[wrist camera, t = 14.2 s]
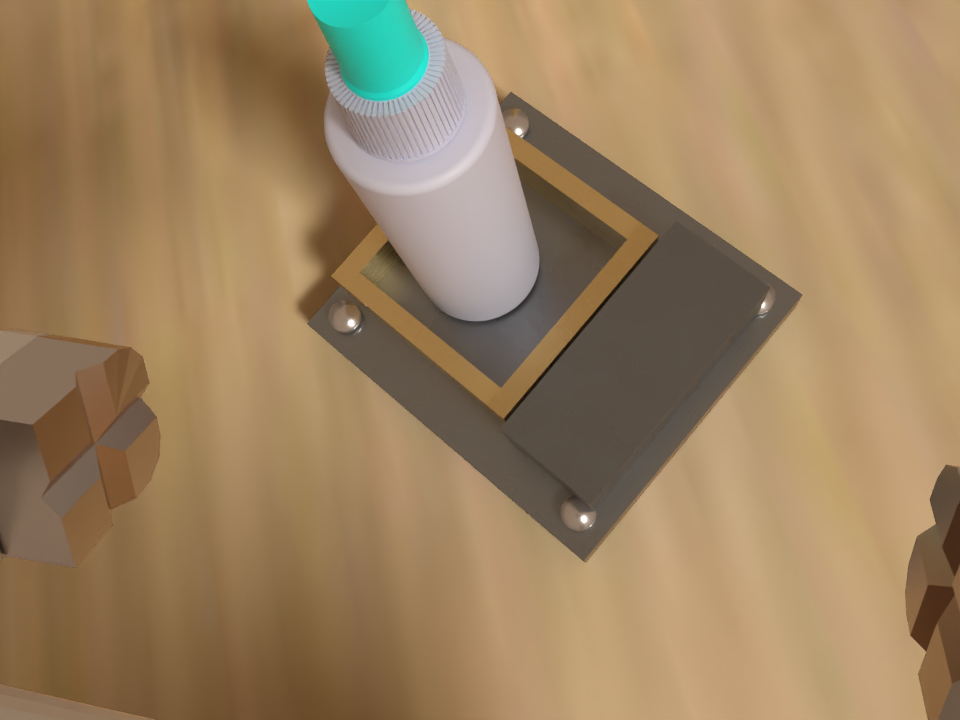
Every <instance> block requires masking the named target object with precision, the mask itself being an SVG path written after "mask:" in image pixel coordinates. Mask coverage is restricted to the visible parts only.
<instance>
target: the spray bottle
mask: <svg viewBox="0 0 960 720" xmlns="http://www.w3.org/2000/svg"><path fill="white" fill-rule="evenodd" d="M307 1H308V4H309V7H310V9H311V11H312V13H313V15H314V17H315V19H316V21H317V23H318V25H319V27H320V29H321V30H322V32H323V34H324V36H325V38H326V40H327V42H328V44H329V46H330V47H329V48H330V50H328V52H327V53H328V55H329V56H326V60H327V61H325V65H326V67H325V71H326V73H325V76H326V81H327V83H328V84H327V85H328V87H329V89H330V93H329V96H328V99H327V102H326V106H325V112H324V135H325V139H326V144H327V147H328V149H329V152H330V154H331V156H332V158H333V160H334V162H335V163H336V165H337V166H338V168H339V169H340V171H341V172H342V174H343V175H344V176H345V178H346V179H347V181H348V182H349V184H350V185H351V187H352V188H353V189H354V191H355V192H356V194H357V195H358V197H359V198H360V200H361V201H362V203H363V204H364V205H365V207H366V208H367V210H368V211H369V213H370V214H371V216H372V217H373V218H374V220H375V221H376V223H377V224H378V226H379V227H380V229H381V230H382V231H383V233H384V234H385V236H386V237H387V239H388V240H389V242H390V243H391V245H392V246H393V247H394V249H395V250H396V252H397V253H398V255H399V256H400V258H401V259H402V260H403V262H404V263H405V265H406V266H407V268H408V269H409V271H410V272H411V273H412V275H413V276H414V278H415V279H416V281H417V282H418V284H419V285H420V286H421V288H422V289H423V291H424V292H425V294H426V295H427V297H428V298H429V299H430V301H431V302H432V303H433V304H434V305H435V306H436V307H438V308H439V309H440V310H441V311H443V312H445V313H446V314H448V315H450V316H452V317H455V318H458V319H461V320H466V321H486V320H491V319H494V318H497V317H500V316H502V315H504V314H506V313H508V312H510V311H511V310H513V309H514V308H515V307H517V306H518V305H519V304H520V303H521V302H522V301H523V300H524V299H525V298H526V297H527V295H528V294H529V292H530V291H531V289H532V288H533V285H534V283H535V281H536V278H537V275H538V270H539V249H538V245H537V241H536V237H535V234H534V230H533V226H532V222H531V219H530V215H529V211H528V208H527V204H526V200H525V197H524V193H523V189H522V186H521V182H520V178H519V175H518V171H517V167H516V164H515V160H514V156H513V153H512V149H511V145H510V142H509V138H508V134H507V130H506V127H505V123H504V119H503V116H502V112H501V108H500V105H499V101H498V97H497V94H496V90H495V87H494V84H493V81H492V79H491V77H490V75H489V73H488V71H487V69H486V68H485V66H484V65H483V64H482V62H481V61H480V60H479V59H478V58H477V57H476V56H475V55H474V54H473V53H472V52H471V51H469V50H468V49H467V48H465V47H464V46H462V45H460V44H459V43H457V42H455V41H452V40H450V39H447V38H444V37H442V35H441V33H440V31H439V30H438V28H437V26H436V25H435V24H434V23H433V22H432V21H431V20H430V19H429V18H426V16H425V15H424V14H423V15H421V13H420V12H417V13H416V11H415V10H413V9H412V11H411V10H410V8H409V7H408V5H407V3H406V0H307Z"/></svg>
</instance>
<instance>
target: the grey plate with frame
mask: <svg viewBox="0 0 960 720" xmlns="http://www.w3.org/2000/svg"><path fill="white" fill-rule="evenodd" d="M500 108H501V112H502V116H503V119H504V123H505V127H506V130H507V134H508V138H509V142H510V145H511V149H512V153H513V156H514V160H515V164H516V167H517V171H518V175H519V178H520V182H521V186H522V189H523V193H524V197H525V200H526V204H527V208H528V211H529V215H530V219H531V222H532V226H533V230H534V234H535V237H536V241H537V245H538V249H539V270H538V275H537V278H536V281H535V283H534V285H533V288H532V289H531V291H530V292H529V294H528V295H527V297H526V298H525V299H524V300H523V301H522V302H521V303H520V304H519V305H518V306H517V307H515V308H514V309H513V310H511V311H510V312H508V313H506V314H504V315H502V316H500V317H497V318H494V319H491V320H486V321H466V320H461V319H458V318H455V317H452V316H450V315H448V314H446V313H445V312H443V311H441V310H440V309H439V308H438V307H436V306H435V305H434V304H433V303H432V302H431V301H430V299H429V298H428V297H427V295H426V294H425V292H424V291H423V289H422V288H421V286H420V285H419V284H418V282H417V281H416V279H415V278H414V276H413V275H412V273H411V272H410V271H409V269H408V268H407V266H406V265H405V263H404V262H403V260H402V259H401V258H400V256H399V255H398V253H397V252H396V250H395V249H394V247H393V246H392V245H391V243H390V242H389V240H388V239H387V237H386V236H385V234H384V233H383V231H382V230H381V229H380V227H379V226H378V224H376V226H375V227H374V228H373V229H372V230H371V231H370V232H369V233H368V235H367V236H366V237H365V238H364V239H363V240H362V241H361V243H360V244H359V245H358V246H357V247H356V248H355V249H354V250H353V252H352V253H351V254H350V255H349V256H348V257H347V258H346V260H345V261H344V262H343V263H342V264H341V265H340V266H339V267H338V269H337V270H336V271H335V272H334V273H333V274H332V275H331V277H332V278H333V279H334V280H335V281H336V282H337V283H338V284H339V285H340V287H339V288H338V289H337V290H336V291H335V292H334V293H333V295H332V296H331V297H330V298H329V299H328V300H327V301H326V302H325V304H324V305H323V306H322V307H321V308H320V309H319V310H318V312H317V313H316V314H315V315H314V316H313V317H312V318H311V319H310V321H309V322H308V323H307V324H308V325H309V326H310V327H311V328H312V329H314V330H315V331H316V332H317V333H318V334H319V335H321V336H322V337H323V338H324V339H325V340H326V341H328V342H329V343H330V344H331V345H332V346H333V347H335V348H336V349H337V350H338V351H339V352H340V353H342V354H343V355H344V356H345V357H346V358H347V359H349V360H350V361H351V362H352V363H353V364H354V365H356V366H357V367H358V368H359V369H360V370H361V371H363V372H364V373H365V374H366V375H367V376H368V377H370V378H371V379H372V380H373V381H374V382H375V383H377V384H378V385H379V386H380V387H381V388H382V389H384V390H385V391H386V392H387V393H388V394H389V395H391V396H392V397H393V398H394V399H395V400H396V401H397V402H399V403H400V404H401V405H402V406H403V407H404V408H406V409H407V410H408V411H409V412H410V413H411V414H413V415H414V416H415V417H416V418H417V419H418V420H420V421H421V422H422V423H423V424H424V425H425V426H427V427H428V428H429V429H430V430H431V431H432V432H434V433H435V434H436V435H437V436H438V437H439V438H441V439H442V440H443V441H444V442H445V443H446V444H448V445H449V446H450V447H451V448H452V449H453V450H455V451H456V452H457V453H458V454H459V455H460V456H462V457H463V458H464V459H465V460H466V461H467V462H469V463H470V464H471V465H472V466H473V467H474V468H476V469H477V470H478V471H479V472H480V473H481V474H483V475H484V476H485V477H486V478H487V479H488V480H490V481H491V482H492V483H493V484H494V485H495V486H497V487H498V488H499V489H500V490H501V491H502V492H504V493H505V494H506V495H507V496H508V497H509V498H510V499H512V500H513V501H514V502H515V503H516V504H517V505H519V506H520V507H521V508H522V509H523V510H524V511H526V512H527V513H528V514H529V515H530V516H531V517H533V518H534V519H535V520H536V521H537V522H538V523H540V524H541V525H542V526H543V527H544V528H545V529H547V530H548V531H549V532H550V533H551V534H552V535H554V536H555V537H556V538H557V539H558V540H559V541H561V542H562V543H563V544H564V545H565V546H566V547H568V548H569V549H570V550H571V551H572V552H573V553H575V554H576V555H577V556H578V557H579V558H580V559H582V560H583V561H584V562H585V563H586V562H587V560H588V559H589V558H590V557H591V555H592V554H593V553H594V552H595V551H596V549H597V548H598V547H599V546H600V545H601V543H602V542H603V541H604V540H605V538H606V537H607V536H608V535H609V534H610V532H611V531H612V530H613V529H614V527H615V526H616V525H617V524H618V523H619V521H620V520H621V519H622V518H623V517H624V515H625V514H626V513H627V512H628V510H629V509H630V508H631V507H632V506H633V504H634V503H635V502H636V501H637V499H638V498H639V497H640V496H641V495H642V493H643V492H644V491H645V490H646V489H647V487H648V486H649V485H650V484H651V482H652V481H653V480H654V479H655V478H656V476H657V475H658V474H659V473H660V472H661V470H662V469H663V468H664V467H665V465H666V464H667V463H668V462H669V461H670V459H671V458H672V457H673V456H674V454H675V453H676V452H677V451H678V450H679V448H680V447H681V446H682V445H683V444H684V442H685V441H686V440H687V439H688V437H689V436H690V435H691V434H692V433H693V431H694V430H695V429H696V428H697V426H698V425H699V424H700V423H701V422H702V420H703V419H704V418H705V417H706V416H707V414H708V413H709V412H710V411H711V409H712V408H713V407H714V406H715V405H716V403H717V402H718V401H719V400H720V398H721V397H722V396H723V395H724V394H725V392H726V391H727V390H728V389H729V388H730V386H731V385H732V384H733V383H734V381H735V380H736V379H737V378H738V377H739V375H740V374H741V373H742V372H743V370H744V369H745V368H746V367H747V366H748V364H749V363H750V362H751V361H752V360H753V358H754V357H755V356H756V355H757V353H758V352H759V351H760V350H761V349H762V347H763V346H764V345H765V344H766V342H767V341H768V340H769V339H770V338H771V336H772V335H773V334H774V333H775V332H776V330H777V329H778V328H779V327H780V325H781V324H782V323H783V322H784V321H785V319H786V318H787V317H788V316H789V314H790V313H791V312H792V311H793V310H794V308H795V307H796V305H797V304H798V302H799V300H800V298H801V297H802V294H801V293H799V292H798V291H796V290H795V289H794V288H792V287H791V286H789V285H788V284H786V283H785V282H784V281H782V280H781V279H779V278H778V277H776V276H775V275H773V274H772V273H771V272H769V271H768V270H766V269H765V268H763V267H762V266H761V265H759V264H758V263H756V262H755V261H753V260H752V259H750V258H749V257H748V256H746V255H745V254H743V253H742V252H740V251H739V250H738V249H736V248H735V247H733V246H732V245H730V244H729V243H727V242H726V241H725V240H723V239H722V238H720V237H719V236H717V235H716V234H715V233H713V232H712V231H710V230H709V229H707V228H706V227H705V226H703V225H702V224H700V223H699V222H697V221H696V220H694V219H693V218H692V217H690V216H689V215H687V214H686V213H684V212H683V211H682V210H680V209H679V208H677V207H676V206H674V205H673V204H671V203H670V202H669V201H667V200H666V199H664V198H663V197H661V196H660V195H659V194H657V193H656V192H654V191H653V190H651V189H650V188H648V187H647V186H646V185H644V184H643V183H641V182H640V181H638V180H637V179H636V178H634V177H633V176H631V175H630V174H628V173H627V172H625V171H624V170H623V169H621V168H620V167H618V166H617V165H615V164H614V163H613V162H611V161H610V160H608V159H607V158H605V157H604V156H602V155H601V154H600V153H598V152H597V151H595V150H594V149H592V148H591V147H590V146H588V145H587V144H585V143H584V142H582V141H581V140H580V139H578V138H577V137H575V136H574V135H572V134H571V133H569V132H568V131H567V130H565V129H564V128H562V127H561V126H559V125H558V124H557V123H555V122H554V121H552V120H551V119H549V118H548V117H546V116H545V115H544V114H542V113H541V112H539V111H538V110H536V109H535V108H534V107H532V106H531V105H529V104H528V103H526V102H525V101H523V100H522V99H521V98H519V97H518V96H516V95H515V94H513V93H512V92H510V93H509V95H508V96H507V97H506V98H505V99H504V100H503V101H502V102H501V104H500Z"/></svg>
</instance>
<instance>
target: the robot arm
mask: <svg viewBox="0 0 960 720" xmlns="http://www.w3.org/2000/svg"><path fill="white" fill-rule="evenodd" d="M148 384H149V379H148V375H147V371H146V368H145V364H144V360H143V356H141V355H140V354H139V353H137V352H136V351H135V350H133V349H132V348H131V347H125V346H119V345H113V344H107V343H101V342H95V341H89V340H83V339H77V338H71V337H65V336H59V335H48V334H45V333H40V332H32V331H25V330H18V329H7V330H0V561H1V560H2V559H3V558H2V556H8V557H14V558H20V559H26V560H32V561H38V562H44V563H50V564H56V565H62V566H68V567H74V568H76V567H77V566H78V565H79V563H80V562H81V561H82V560H83V559H84V558H85V557H86V555H87V554H88V553H89V552H90V551H91V550H92V548H93V547H94V546H95V545H96V544H97V543H98V542H99V540H100V539H101V538H102V537H103V536H104V535H105V534H106V532H107V531H108V530H109V529H110V528H111V527H112V525H113V523H112V510H111V509H113V508H116V507H118V506H120V505H122V504H124V503H126V502H129V501H131V500H133V499H135V498H136V497H137V496H138V495H139V494H140V493H141V491H142V490H143V489H144V488H145V486H146V485H147V484H148V483H149V481H150V480H151V477H152V475H153V472H154V469H155V467H156V464H157V461H158V459H159V455H160V431H159V426H158V421H157V416H156V415H155V414H154V413H153V412H152V411H151V409H150V408H149V407H148V406H147V405H146V404H145V402H144V401H143V400H142V399H141V398H140V397H141V396H142V394H143V393H144V391H145V389H146V388H147V386H148ZM930 503H931V506H932V510H933V514H934V518H935V522H936V524H935V525H934V526H932V527H931V528H929V529H928V530H926V531H925V532H923V533H922V534H920V535H918V536H917V538H916V541H915V545H914V548H913V551H912V555H911V558H910V561H909V565H908V573H907V581H906V590H905V599H906V615H907V621H908V626H909V632H910V636H911V637H912V638H913V639H914V640H915V641H916V642H917V643H918V644H919V645H920V646H921V647H922V648H923V649H924V650H925V651H926V654H925V657H924V659H923V662H922V665H921V668H920V670H919V673H918V676H919V681H920V686H921V690H922V695H923V700H924V704H925V709H926V714H927V718H928V720H960V467H959V466H952V465H946V466H945V467H944V469H943V470H942V472H941V473H940V475H939V477H938V478H937V481H936V484H935V486H934V489H933V492H932V495H931V497H930ZM0 720H156V719H151V718H147V717H142V716H138V715H134V714H129V713H125V712H120V711H116V710H112V709H107V708H103V707H98V706H94V705H90V704H85V703H81V702H77V701H72V700H68V699H63V698H59V697H55V696H50V695H46V694H41V693H37V692H33V691H28V690H24V689H19V688H15V687H11V686H6V685H2V684H0Z"/></svg>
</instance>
